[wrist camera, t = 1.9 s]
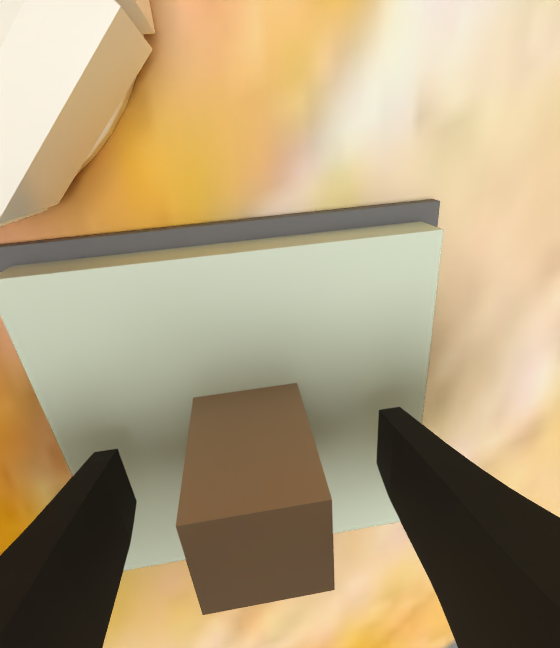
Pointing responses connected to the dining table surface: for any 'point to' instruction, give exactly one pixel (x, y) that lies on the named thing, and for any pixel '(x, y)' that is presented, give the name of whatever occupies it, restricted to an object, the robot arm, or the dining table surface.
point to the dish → (62, 91)
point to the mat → (216, 232)
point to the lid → (235, 391)
